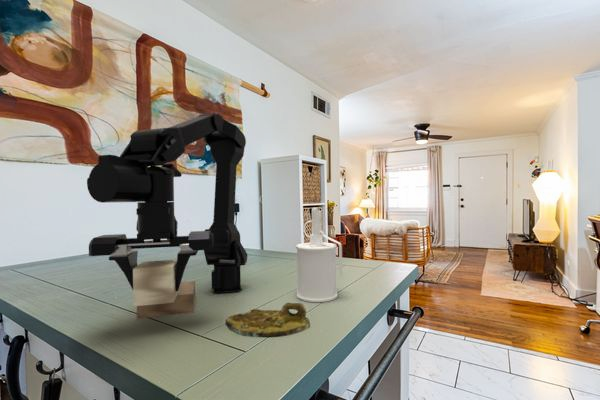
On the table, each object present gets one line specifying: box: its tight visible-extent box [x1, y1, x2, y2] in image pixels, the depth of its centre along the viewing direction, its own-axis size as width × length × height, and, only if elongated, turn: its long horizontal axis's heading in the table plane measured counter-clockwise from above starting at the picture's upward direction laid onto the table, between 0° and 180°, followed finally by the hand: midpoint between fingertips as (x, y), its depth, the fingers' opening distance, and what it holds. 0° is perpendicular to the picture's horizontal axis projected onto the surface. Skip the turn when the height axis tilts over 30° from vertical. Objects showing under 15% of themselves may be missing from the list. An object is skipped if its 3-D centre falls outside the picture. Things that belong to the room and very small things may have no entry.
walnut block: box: [136, 280, 196, 319], centre depth 63 cm, size 10×10×4 cm
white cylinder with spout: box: [295, 207, 343, 303], centre depth 68 cm, size 10×9×20 cm
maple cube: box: [132, 259, 179, 307], centre depth 52 cm, size 6×6×6 cm
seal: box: [225, 302, 311, 338], centre depth 52 cm, size 9×5×15 cm
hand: (157, 292), depth 52 cm, fingers closed on maple cube, 6 cm apart
